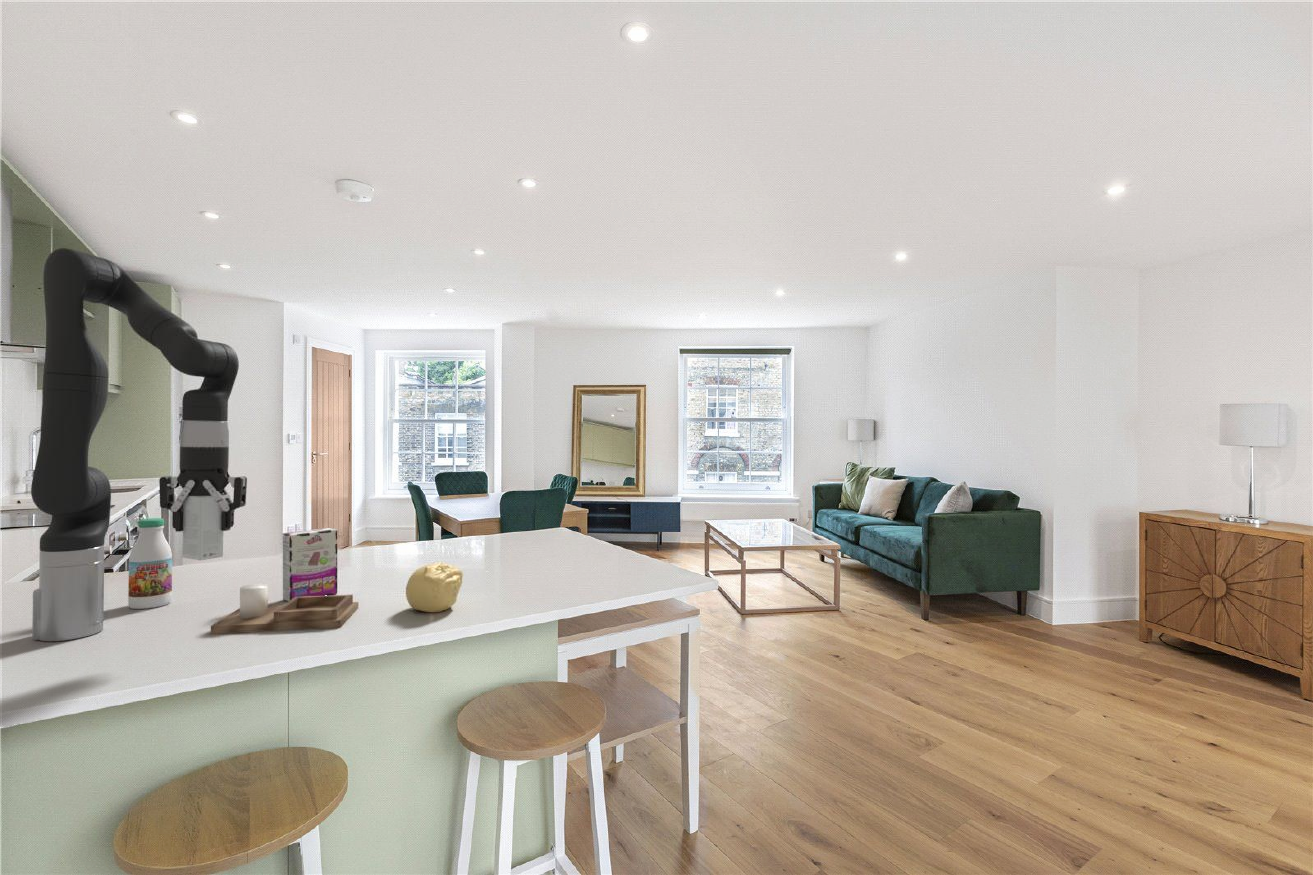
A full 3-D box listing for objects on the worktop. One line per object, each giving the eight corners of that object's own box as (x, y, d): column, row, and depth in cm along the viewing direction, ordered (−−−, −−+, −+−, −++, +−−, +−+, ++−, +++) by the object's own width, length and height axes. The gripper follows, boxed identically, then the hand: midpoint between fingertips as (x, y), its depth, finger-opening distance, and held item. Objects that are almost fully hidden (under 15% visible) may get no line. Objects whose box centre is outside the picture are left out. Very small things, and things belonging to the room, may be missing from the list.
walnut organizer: (210, 633, 121) (211, 596, 121) (242, 613, 134) (242, 579, 134) (340, 627, 126) (341, 591, 126) (358, 608, 140) (358, 576, 140)
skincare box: (224, 557, 116) (225, 495, 116) (199, 561, 112) (200, 497, 112) (205, 554, 118) (206, 493, 118) (180, 557, 115) (181, 495, 114)
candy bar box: (328, 590, 154) (329, 527, 154) (338, 594, 151) (338, 529, 151) (280, 599, 145) (281, 532, 145) (289, 603, 142) (290, 534, 142)
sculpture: (443, 618, 134) (444, 569, 134) (395, 614, 136) (396, 566, 136) (469, 604, 145) (470, 559, 145) (424, 600, 147) (425, 556, 147)
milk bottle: (121, 606, 138) (122, 519, 137) (161, 598, 144) (162, 515, 144) (137, 611, 134) (138, 522, 134) (178, 603, 141) (179, 518, 141)
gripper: (255, 444, 120) (253, 527, 120) (173, 443, 117) (171, 528, 117) (237, 445, 113) (236, 533, 113) (149, 444, 110) (148, 534, 110)
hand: (203, 530), depth 115 cm, fingers closed on skincare box, 7 cm apart
